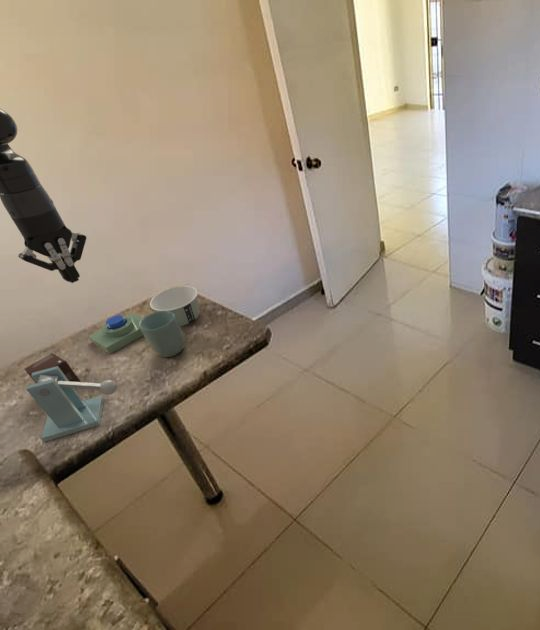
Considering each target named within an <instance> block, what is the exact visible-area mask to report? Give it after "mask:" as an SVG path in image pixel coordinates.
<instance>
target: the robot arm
mask: <svg viewBox="0 0 540 630" xmlns="http://www.w3.org/2000/svg"><path fill="white" fill-rule="evenodd" d="M17 136H18V126H17V123H16V122H15V120H14V119H13V117H12V116H11V115H10V114H9V113H8V112H7V111H5V110H4V109H2V108H0V201H1V202H2V205H3V207H4V208H5V210H6V212H7V213H8V215H9V216H10V218H11V220H12V221H13V223H14V224H15V226H16V228H17V229H18V231H19V233H20V235H21V236H22V237H23V239H24V241H23V242H24V246H25V248H24V250H23V252H21V253H18V258H19V259H20V260H22V261H24V262H26V263H29V264H32V265H35V266H37V267H40V268H42V269H46V270H48V271H51V272H53V271H58V273H59V274H60V276H61V277H62V279H63V280H64V281H66V282H68V283H70V284H73V283H76V282H78V281H80V279H79V278H80V273H79V271H78V269H77V268H76V266H75V263H77V262H79V261H81V259H82V257H83V253H84V248H85V245H86V242H87V236H86V235H85V234H82V233H80V232H72V230H71V229H70V228H69V227H67V226H66V224H65V222H64V220H63V219H62V217H61V215H60V213H59V212H58V210H57V207H56V205H55V204H54V201H53V199H52V198H51V196H50V195H49V193H48V191H46V190H45V188H44V186H43V185H42V183H41V182H40V180H39V178H38V176H37V174H36V173H35V171H34V169H33V167H32V165H31V164H30V162H29V161H28V160H27V158H25V157H23V156H22V155H20V154H18V153H17V152H15V151H14V150H13V149H12V147H11V146H10V145H9V144H10V143H12V142H13V141H14V140H15V139H16V138H17ZM71 242H72V245H71ZM70 245H71V248H70ZM69 248H70V250H69ZM34 252H35V253H38V254H40V255H41V256H45V257H47V259H48V260H50V262H47V261H44V260H42V259H39V258H37V255H36V254H35V253H34Z"/></svg>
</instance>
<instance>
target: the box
mask: <svg viewBox="0 0 540 630" xmlns="http://www.w3.org/2000/svg"><path fill="white" fill-rule="evenodd" d="M56 366H58V367H59V368H60V369H61V371H62V372H63V374H64V375H65V376H66V378H67V379H68V380H69V381H70V382H82V380H81V379H80V378H79V377H78V376H77V374H76V373H75V372H74V370H73V368H71V366H70V365H69V363H68V362H67V361H66V360H65V359H63V358H61V357H60V356H58V355H56V354H55V353H53V352H52V353H50V354H48V355H46V356H45V357H42V358H41V359H39V360H37V361H35V362H33V363H32V364H30V365H28V366H26V367H24V371H25V372H26V373H27V374H28V376H29V377H30V378H31V379H32V380H33V382H34V384H36V383H37V382H36V381H35V380H34V379H33V377H32V376H31V375H32V373H34V372H37V371H41V370H45V369H49V368H52V367H56Z"/></svg>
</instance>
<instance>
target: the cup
mask: <svg viewBox="0 0 540 630" xmlns="http://www.w3.org/2000/svg"><path fill="white" fill-rule="evenodd" d="M142 318H143V319H142V320H141V321H140V323H139V328H140V330H141V332H142V334H143V338H144V339H145V341H146V343H147V344H148V346H149V348H150V349H151V350H152V351H153V352H154V353H155V354H156V355H157V356H160V357H163V358H171V357H175V356H176V355H178V354H179V353H181V352H182V351H183V349H184V348H185V345H186V339H185V334H184V332H183V329H182V326H180V325H179V323H178V320H177V318H176V316H175V315H174V314H173V313H172V312H170V311H158V312H156V311H154V312H152V313H149V314H148V315H146V316H144V317H142Z"/></svg>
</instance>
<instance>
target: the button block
mask: <svg viewBox="0 0 540 630" xmlns="http://www.w3.org/2000/svg"><path fill="white" fill-rule="evenodd" d="M122 316H123V317H124V319H125V321H126V324H125V325H124V326H122V327H120V328H117V329H109V327H108V326H107V324H106V322H105V323H104V324H103V325H102V326H101V329H99V330H97V331H95V332H93V333H91V334H89V335H88V339H89V341H90V342H91V344H93V345H95V346H96V347H98V348H99V349H101V350H103V351H104V352H106V353H107V354H108V355H111V354H113V353H114V352H116V351H118V350H120V349H121V348H123V347H125V346H127V345H128V344H130V343H132V342H134V341H135V340H137V339H139V338H141V337H144V335H143V334H142V332H141V330H140V328H139V323H140V321H141V320H142V319H143V318H144V317H142V316H141V315H138V314H137V313H135V312H131V313H129V314H127V315H122Z"/></svg>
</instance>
